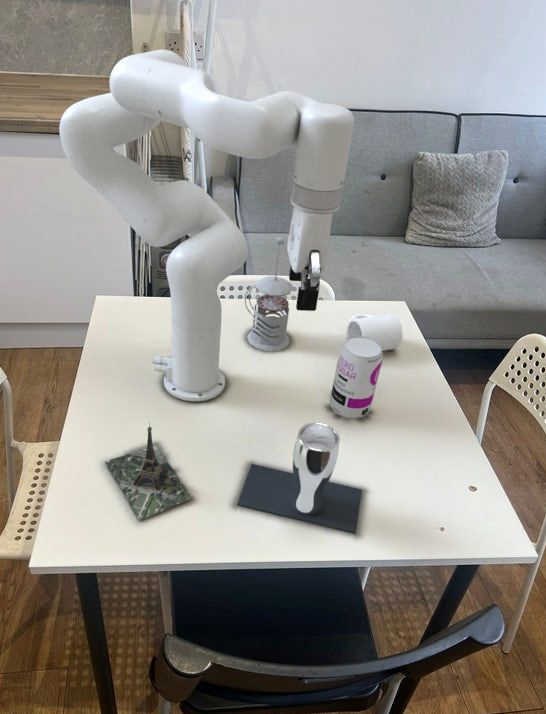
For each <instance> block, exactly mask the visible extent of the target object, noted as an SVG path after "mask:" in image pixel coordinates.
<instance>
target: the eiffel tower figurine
mask: <svg viewBox="0 0 546 714" xmlns="http://www.w3.org/2000/svg"><path fill="white" fill-rule="evenodd" d="M150 424H151V423H150V421H149V422H148V427H147V442H146V443H147V444H146V445H147V446H146V448H143V449H140V450H136V451H134V452H131V453H128V454H124V455H121V456H117V457H114V458H111V459H108V460H104V463H105V465H106V467H107V468H108V470H109V472H110V474H111V475H112V477H113V479H114V481H115V482H116V484H117V485H118V487H119V488H120V490H121V492H122V493H123V495H124V497H125V499H126V501H127V503H128V504H129V505H130V507H131V509H132V511H133V513H134V514H135V516H136V518H137V520H138V521H141V520H144V519H147V518H149V517H151V516H154V515H156V514H158V513H161V512H163V511H166V510H168V509H170V508H172V507H175V506H177V505H180V504H181V503H184V502H186V501H189V500H191V499H193V498H194V497H193V496H192V494H191V493H190V492H189V491H188V488H186V486H185V485H184V483H183V482H182V480H181V479H180V478H179V476H178V475H177V473H176V472H175V470H174V469H173V467H172V466H171V465H170V463H169V462H168V461H167V459H166V458H165V456H164V455H163V454H162V452H161V451H160V449H159V448H158V447H157V445H154V444H153V436H152V430H153V427H152V426H151V425H150Z"/></svg>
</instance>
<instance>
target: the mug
mask: <svg viewBox="0 0 546 714" xmlns="http://www.w3.org/2000/svg"><path fill="white" fill-rule="evenodd" d="M355 336H363V337H368V338H371V339H373V340H375V341H376V342H378V343H379V344H380V346H381V349H382V352H383V351H390V350H395V349H398V348H399V347H400V345H401V343H402V340H403V328H402V323H401V321H400V319H399V318H398V317H397V315H395V314H392V313H389V314H382V315H375V316H374V315H372V314H367V313H358V314H355V315H353V316H352V317H351V318H350V319H349V321H348V323H347V328H346V340H347V339H349V338H350V337H355Z"/></svg>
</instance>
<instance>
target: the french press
mask: <svg viewBox="0 0 546 714" xmlns="http://www.w3.org/2000/svg"><path fill="white" fill-rule="evenodd" d="M274 243H275V244H276V245H278V249H277V259H276V268H275V276H272V275H271V276H270V275H269V276H266V277H263V278H260V279H258V281H257V282H256V283H255V284H254V285H252V286H251V287H249V288H248V289H247V291H246V292H245V294H244V305H245V308H246V310H247V311H248V313H249V314H250V315H251V316H252V317H253V318H252V330H251V331H249V333H248V334H247V341H248V343H249V344H250V345H251V346H252V347H254V348H256V349H258V350H262V351H266V352H276V351H282V350H283V349H285V348H287V347H288V346H289V345H290V337H289V336H288V335H287V329H288V321H289V315H290V314H289V313H290V307H289V306H290V303H289V301H288V300H287V299H286V298H285V297H286V296H288V295H290V294H291V293H292V292H293V290H294V285H293V284H292V283H291V281H288V280H287V279H285V278H283V277H279V276H277V273H278V264H279V257H280V248H281V247H280V246H282V245H284V244H285V239H284V237H282V236H277V237H276V238H275V241H274ZM253 289H255V293H258V294H259V292H260V293H261V294H263V295H261V296H258V298H257V299H256V304H255V305H254V307H253V306H252V302H251V298H250V297H251V292H252V290H253ZM247 295H248V301H249V306H250V307H251V310H253V313H252V312H251V311H250V310H249V308H248V306H247ZM275 315H276V316H275Z"/></svg>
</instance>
